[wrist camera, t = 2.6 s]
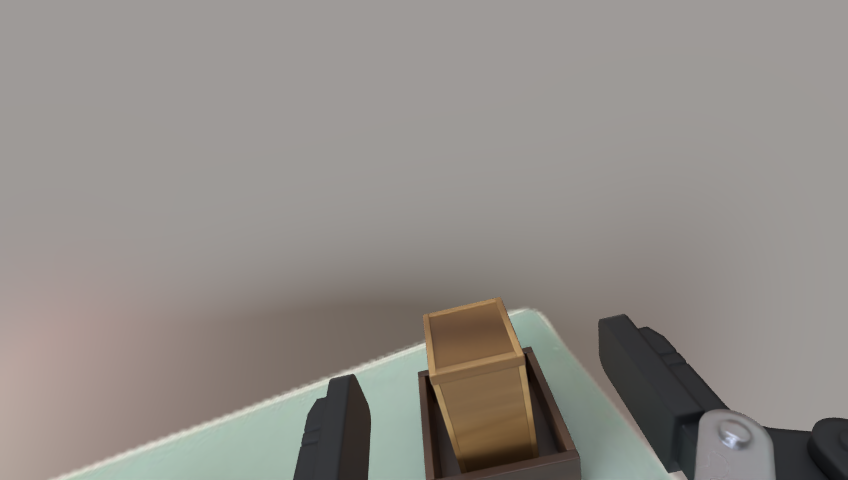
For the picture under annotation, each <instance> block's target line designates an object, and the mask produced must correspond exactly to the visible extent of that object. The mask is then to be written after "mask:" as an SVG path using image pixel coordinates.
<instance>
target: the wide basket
mask: <svg viewBox="0 0 848 480" xmlns="http://www.w3.org/2000/svg"><path fill="white" fill-rule="evenodd" d="M522 351H523V353H524V355H525V361H526V365H525V367H526V374H527V380H528V387H529V393H530V400H531V406H532V413H533V419H534V426H535V432H536V439H537V445H538V452H539V457H538V458H533V459H529V460H524V461H519V462H515V463H510V464H505V465H501V466H496V467H491V468H486V469H482V470H477V471H472V472H468V473H463V474H461V471H460V468H459V465H458V461H457V458H456V455H455V452H454V449H453V446H452V443H451V440H450V437H449V434H448V430H447V427H446V424H445V421H444V418H443V415H442V412H441V409H440V406H439V403H438V399H437V396H436V393H435V390H434V387H433V385H432V384H431V381H430V377H429V370H425V371H420V372H418V381H419V394H420V408H421V421H422V434H423V447H424V461H425V474H426V480H581V466H580V457H579V454H578V452H577V450H576V447H575V445H574V443H573V441H572V438H571V436H570V434H569V432H568V429H567V427H566V425H565V423H564V420H563V418H562V416H561V413H560V411H559V409H558V407H557V404H556V402H555V400H554V398H553V395H552V393H551V391H550V388H549V386H548V384H547V382H546V379H545V377H544V375H543V373H542V370H541V368H540V366H539V364H538V361H537V359H536V357H535V354H534V352H533V350H532V348H531V347H526V348H522Z"/></svg>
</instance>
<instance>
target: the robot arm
mask: <svg viewBox="0 0 848 480" xmlns="http://www.w3.org/2000/svg"><path fill="white" fill-rule="evenodd" d="M598 327H599V356H600V361H601V364H602V366H603V369H604V371H605V373H606V375H607V376H608V378H609V379H610V381H611V383H612V384H613V386H614V387H615V389H616V390H617V392H618V394H619V395H620V397H621V399H622V400H623V402H624V403H625V405H626V407H627V408H628V410H629V411H630V413H631V414H632V416H633V418H634V419H635V421H636V422H637V424H638V426H639V427H640V429H641V430H642V432H643V434H644V435H645V437H646V439H647V440H648V442H649V443H650V445H651V447H652V448H653V450H654V451H655V453H656V455H657V456H658V458H659V459H660V461H661V463H662V464H663V466H664V467H665V469H666V471H667V472H668V473H672V472H676V471H681V470H682V471H683V473H684V474H685V476H686V477H687V479H688V480H848V419H843V418H826V419H822V420H820V421H818V422H817V423H816V424H815V425H814V427H813V429H812V432H811V431H798V430H786V429H776V428H768V427H764V426H761V425H760V424H759V423H757V422H756V421H755V420H753V419H751V418H750V417H748V416H746V415H744V414H742V413H738V412H736V411H732V410H730V409H729V408H728V407H727V406H726V405H725V404H724V403H723V402H722V401H721V399H720V398H719V397H718V396H717V395H716V394H715V393H714V392H713V391H712V390H711V388H710V387H709V386H708V385H707V384H706V383H705V382H704V380H703V379H702V378H701V377H700V376H699V375H698V374H697V373H696V372H695V371H694V369H693V368H692V367H691V366H690V365H689V364H687V363H686V360H685V359H684V358H683V357H682V356H681V355H680V354H679V353H677V352H676V349H675V348H674V347H673V346H672V345H671V344H670V342H669V341H668V340H667V339H666V338H665V337H664V336H662V335H661V334H659V333H657V332H655V331H654V330H652V329H650V328H649V327H643V328H639V329H638V328H637V327H636V326H635V325H634V323H633V322H632V321H631V320H630V319H629V318H628V316H626V315H625V314H621V315H617V316H612V317H608V318H604V319H600V320H599V323H598ZM304 431H305V433H303V438H302V442H301V444H302V446H301V447H300V451H299V456H298V460H297V465H296V469H295V474H294V478H293V480H368V468H369V450H370V433H371V415H370V410H369V406H368V403H367V401H366V398H365V396H364V394H363V392H362V389H361V387H360V385H359V383H358V380H357V378H356V376H355V375H354V374H350V375H346V376H341V377H337V378H332V379H330V381H329V385H328V391H327V396H326V397H324V398H320V399H317V400H316V402H315V403H314V405H313V407H312V408H311V410H310V412H309V413H308V416H307V420H306V424H305V429H304Z"/></svg>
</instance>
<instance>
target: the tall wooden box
mask: <svg viewBox="0 0 848 480" xmlns="http://www.w3.org/2000/svg"><path fill="white" fill-rule="evenodd" d="M423 322H424V331H425V341H426V350H427V359H428V368H429V377H430V381H431V384H432V385H433V387H434V390H435V393H436V396H437V399H438V403H439V406H440V409H441V412H442V415H443V418H444V421H445V424H446V427H447V430H448V434H449V437H450V440H451V443H452V446H453V449H454V452H455V455H456V458H457V461H458V465H459V468H460V471H461V474H463V473H468V472H472V471H477V470H482V469H486V468H491V467H496V466H501V465H505V464H510V463H515V462H519V461H524V460H529V459H533V458H538V457H539V452H538V445H537V439H536V432H535V426H534V419H533V413H532V406H531V400H530V393H529V387H528V380H527V374H526V367H525V365H526V361H525V355H524V353H523V351H522V348H521V346H520V343H519V341H518V338H517V336H516V333H515V331H514V329H513V326H512V324H511V321H510V319H509V316H508V314H507V311H506V309H505V306H504V304H503V302H502V300H501V298H500V297H498V298H495V299H494V298H493V299H489V300H485V301H481V302H476V303H472V304H468V305H464V306H459V307H455V308H451V309H446V310H442V311H438V312H434V313H429V314H425V315H423Z"/></svg>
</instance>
